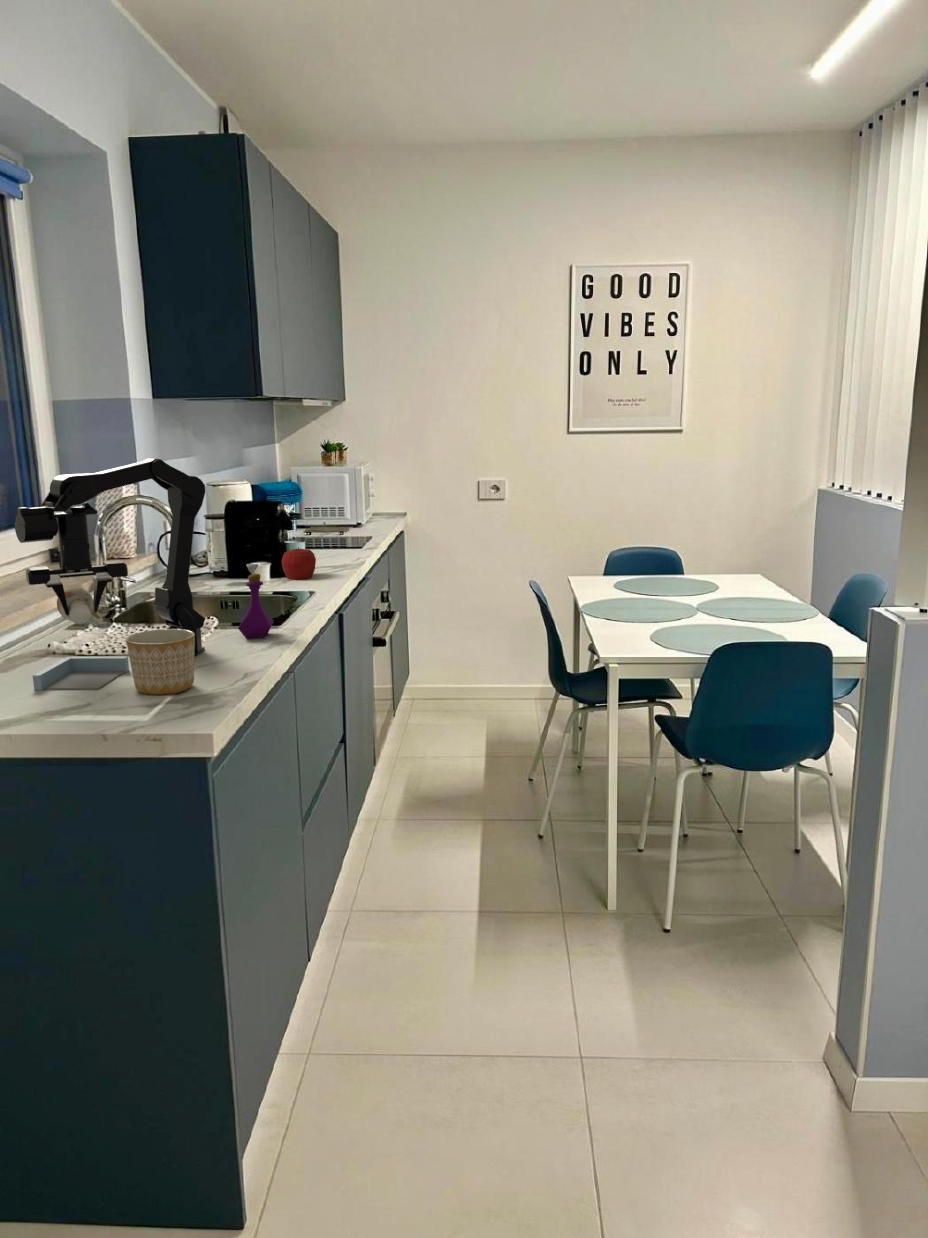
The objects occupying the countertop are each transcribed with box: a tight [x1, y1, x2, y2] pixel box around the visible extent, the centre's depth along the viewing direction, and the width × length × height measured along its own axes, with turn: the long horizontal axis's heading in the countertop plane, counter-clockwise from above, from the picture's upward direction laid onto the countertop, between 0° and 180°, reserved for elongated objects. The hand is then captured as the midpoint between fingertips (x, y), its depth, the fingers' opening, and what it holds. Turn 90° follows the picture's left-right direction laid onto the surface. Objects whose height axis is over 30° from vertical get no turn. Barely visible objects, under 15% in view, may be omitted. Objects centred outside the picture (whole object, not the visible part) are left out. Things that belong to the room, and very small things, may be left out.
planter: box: [125, 628, 195, 696], centre depth 182 cm, size 13×13×10 cm
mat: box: [45, 671, 125, 691], centre depth 188 cm, size 11×12×1 cm
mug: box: [56, 586, 104, 625], centre depth 194 cm, size 8×10×10 cm
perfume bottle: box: [237, 563, 274, 640], centre depth 221 cm, size 8×8×18 cm
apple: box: [281, 546, 317, 581], centre depth 295 cm, size 11×11×12 cm
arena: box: [32, 656, 130, 691], centre depth 189 cm, size 13×14×3 cm
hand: (81, 613), depth 192 cm, fingers closed on mug, 5 cm apart
